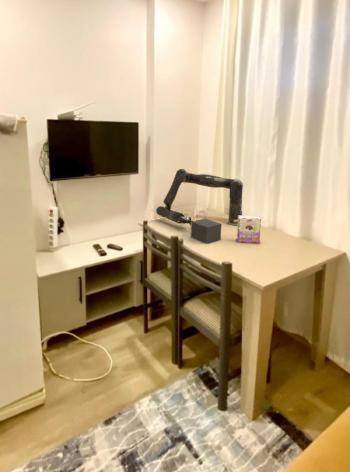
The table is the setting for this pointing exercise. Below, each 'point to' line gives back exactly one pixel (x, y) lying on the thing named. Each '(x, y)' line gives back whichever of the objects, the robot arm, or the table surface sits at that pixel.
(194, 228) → the dark grey rectangular block
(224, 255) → the table surface
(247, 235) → the candy box
